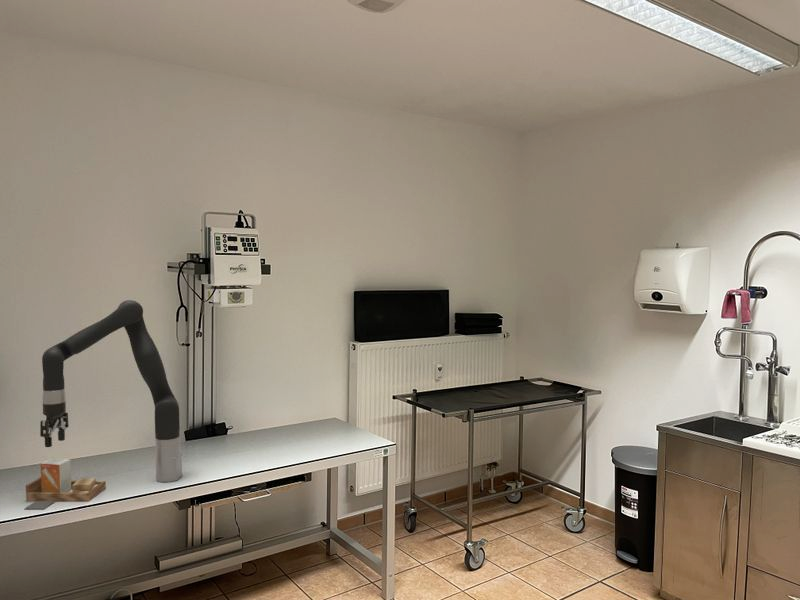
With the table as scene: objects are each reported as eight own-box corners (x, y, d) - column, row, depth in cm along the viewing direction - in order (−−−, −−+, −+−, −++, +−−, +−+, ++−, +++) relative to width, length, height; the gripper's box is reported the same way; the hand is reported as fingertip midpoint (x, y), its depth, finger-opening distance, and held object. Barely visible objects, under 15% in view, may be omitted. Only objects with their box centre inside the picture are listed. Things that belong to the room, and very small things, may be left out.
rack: (105, 488, 235) (105, 473, 235) (88, 501, 222) (87, 485, 222) (47, 488, 236) (46, 473, 235) (26, 501, 223) (25, 485, 222)
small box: (41, 497, 226) (39, 463, 226) (53, 491, 233) (52, 458, 232) (60, 498, 225) (59, 464, 225) (72, 492, 231) (71, 459, 231)
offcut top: (95, 484, 233) (95, 478, 233) (89, 490, 226) (89, 484, 226) (79, 485, 232) (78, 478, 232) (72, 491, 225) (72, 485, 225)
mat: (55, 502, 222) (55, 500, 222) (43, 509, 215) (43, 508, 215) (36, 501, 222) (36, 500, 222) (24, 509, 215) (24, 508, 215)
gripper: (53, 405, 220) (54, 449, 221) (74, 397, 234) (75, 438, 235) (32, 405, 220) (33, 449, 221) (55, 397, 234) (56, 438, 235)
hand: (55, 443), depth 228 cm, fingers open, 8 cm apart
